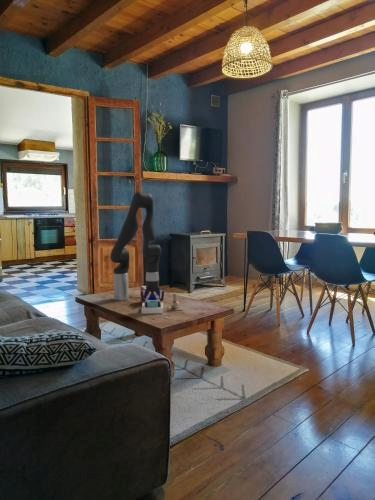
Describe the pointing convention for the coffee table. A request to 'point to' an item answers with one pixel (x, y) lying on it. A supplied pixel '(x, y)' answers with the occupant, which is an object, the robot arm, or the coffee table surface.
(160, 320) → the coffee table surface
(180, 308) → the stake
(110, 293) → the coffee table surface
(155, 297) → the puzzle cube
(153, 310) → the tray
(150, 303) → the ring
